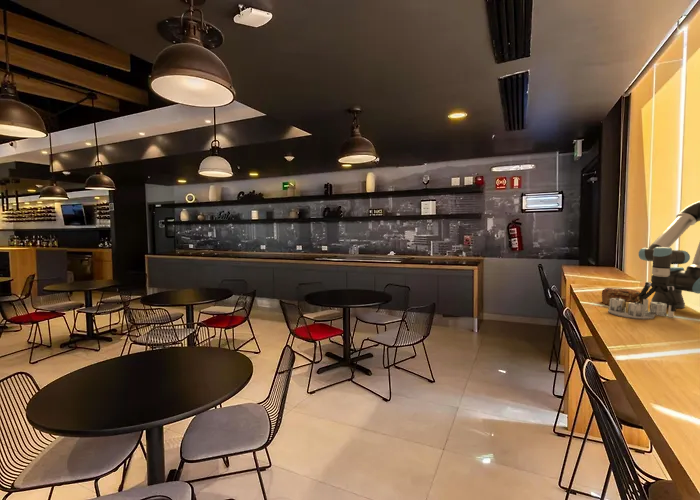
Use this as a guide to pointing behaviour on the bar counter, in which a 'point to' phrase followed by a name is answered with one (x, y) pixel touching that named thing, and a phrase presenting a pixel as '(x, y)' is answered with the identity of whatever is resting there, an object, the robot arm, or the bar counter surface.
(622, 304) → the carrier
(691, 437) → the bar counter surface
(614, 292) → the bread
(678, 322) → the bar counter surface
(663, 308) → the planet gear
